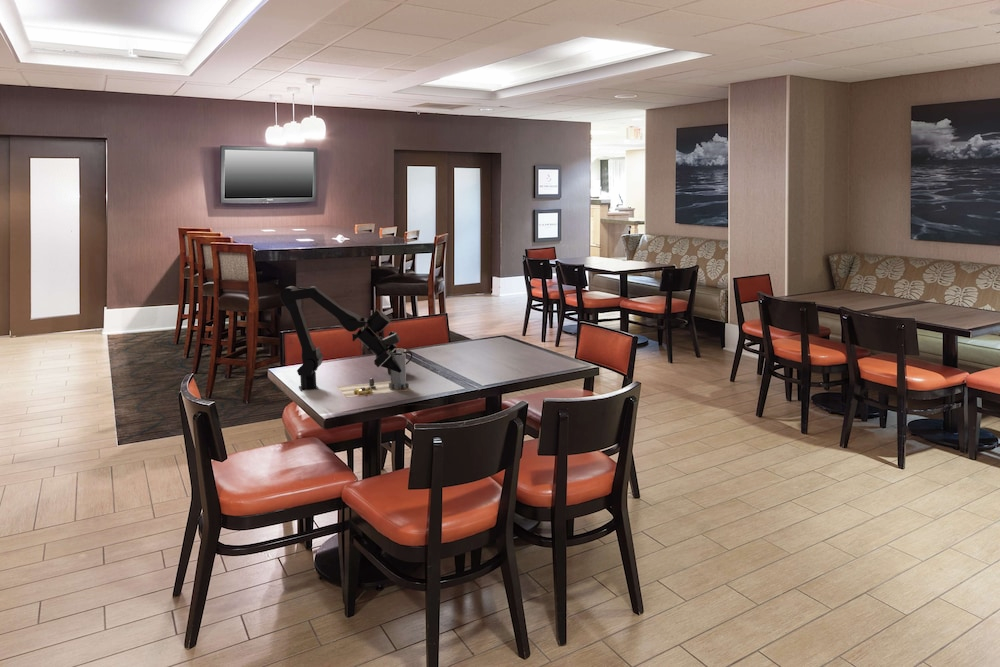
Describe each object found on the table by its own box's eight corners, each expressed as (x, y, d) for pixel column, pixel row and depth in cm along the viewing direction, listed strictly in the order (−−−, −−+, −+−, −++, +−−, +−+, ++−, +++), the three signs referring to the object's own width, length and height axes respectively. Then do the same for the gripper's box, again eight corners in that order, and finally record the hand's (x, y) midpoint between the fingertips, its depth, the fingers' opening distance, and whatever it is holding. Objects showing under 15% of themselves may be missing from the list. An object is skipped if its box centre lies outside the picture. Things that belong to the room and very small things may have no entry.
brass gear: (352, 391, 277) (351, 386, 276) (369, 389, 279) (369, 384, 279) (356, 396, 271) (356, 391, 270) (374, 394, 273) (374, 389, 273)
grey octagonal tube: (387, 390, 278) (386, 356, 276) (390, 385, 286) (389, 352, 283) (407, 390, 278) (406, 356, 276) (409, 385, 285) (409, 352, 283)
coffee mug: (386, 377, 299) (386, 353, 298) (384, 372, 308) (383, 349, 306) (415, 375, 302) (415, 351, 301) (412, 371, 311) (411, 347, 309)
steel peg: (367, 387, 283) (367, 377, 282) (374, 386, 284) (374, 377, 283) (369, 388, 280) (368, 379, 280) (376, 388, 282) (376, 378, 281)
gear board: (337, 388, 284) (337, 386, 283) (400, 381, 294) (400, 380, 293) (346, 398, 269) (346, 397, 269) (413, 391, 279) (413, 389, 279)
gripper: (382, 330, 268) (413, 360, 270) (390, 321, 287) (420, 349, 289) (361, 352, 270) (392, 381, 272) (370, 341, 288) (400, 369, 290)
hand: (402, 369), depth 281 cm, fingers closed on grey octagonal tube, 5 cm apart
